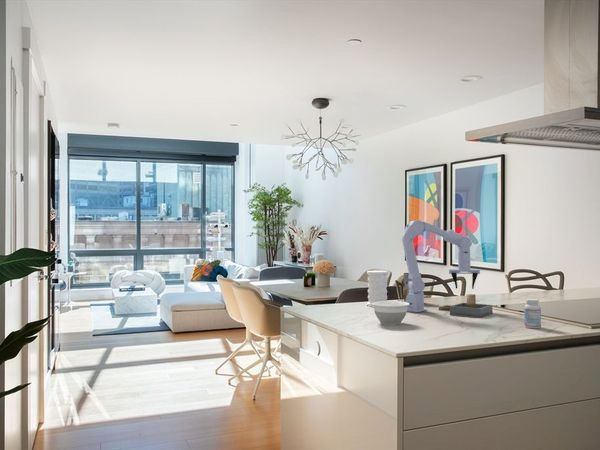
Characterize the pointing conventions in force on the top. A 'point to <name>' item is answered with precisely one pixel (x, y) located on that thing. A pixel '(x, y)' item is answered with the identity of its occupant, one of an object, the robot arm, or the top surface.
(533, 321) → the pill bottle
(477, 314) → the tray
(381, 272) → the decorative container
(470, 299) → the dowel
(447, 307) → the collar holder
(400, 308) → the bowl
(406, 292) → the coffee box
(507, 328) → the top surface
